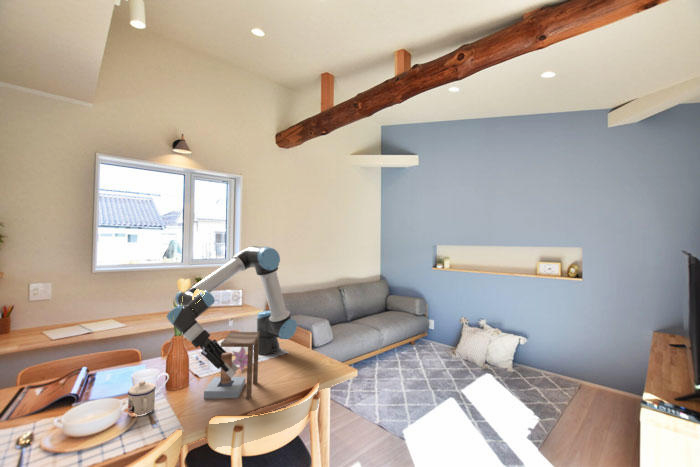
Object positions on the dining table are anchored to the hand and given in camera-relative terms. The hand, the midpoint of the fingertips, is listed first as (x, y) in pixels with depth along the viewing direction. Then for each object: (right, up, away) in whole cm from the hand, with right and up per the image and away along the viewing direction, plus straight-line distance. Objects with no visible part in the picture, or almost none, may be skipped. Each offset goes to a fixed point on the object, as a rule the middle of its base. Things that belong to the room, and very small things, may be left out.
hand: (234, 372), depth 148 cm
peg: (-4, -4, 0) cm, 5 cm away
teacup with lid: (-28, -7, -21) cm, 36 cm away
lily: (-5, -8, +24) cm, 25 cm away
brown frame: (+2, -8, 0) cm, 8 cm away
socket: (-4, -8, 0) cm, 9 cm away
